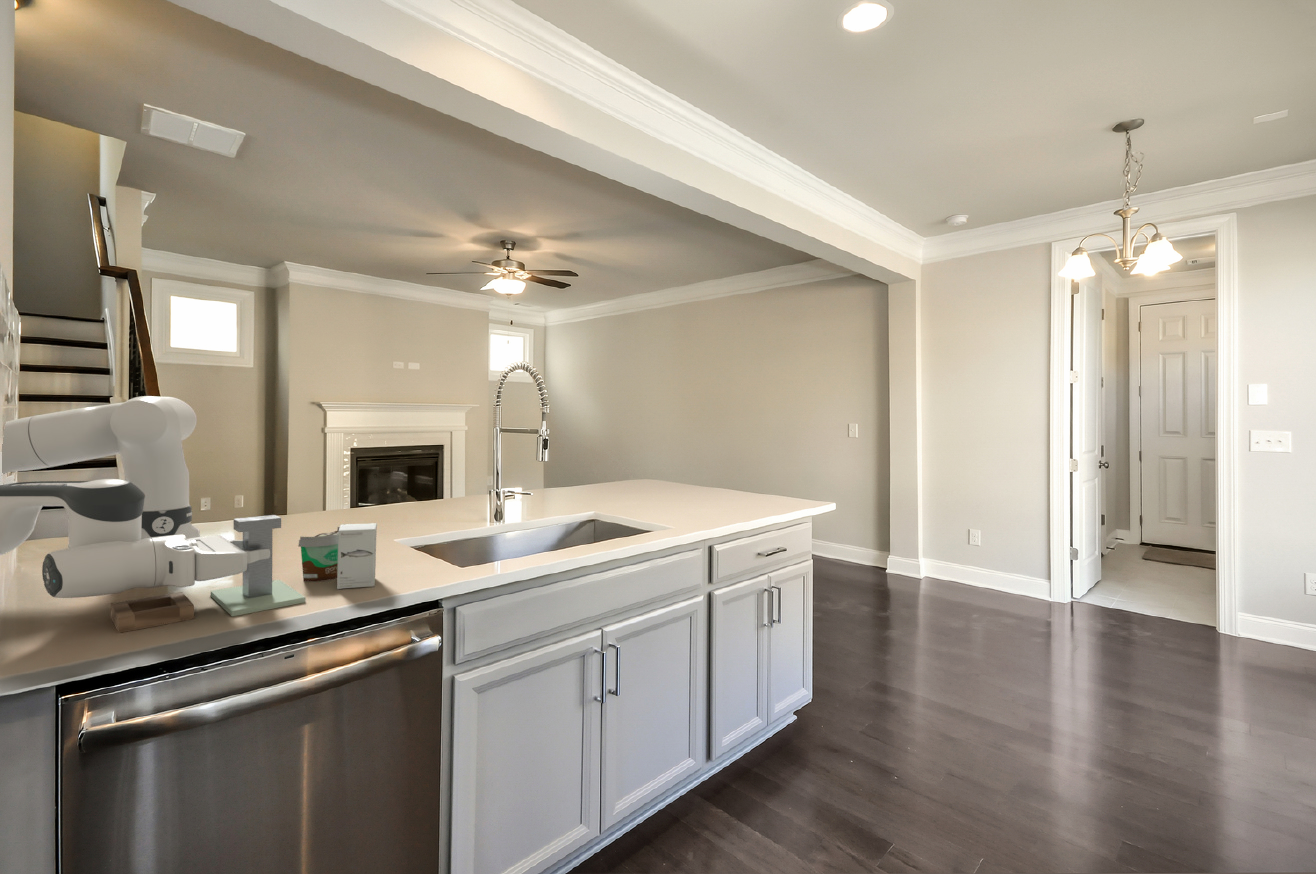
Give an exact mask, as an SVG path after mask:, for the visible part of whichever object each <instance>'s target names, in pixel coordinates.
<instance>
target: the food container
mask: <svg viewBox="0 0 1316 874" xmlns="http://www.w3.org/2000/svg"><path fill="white" fill-rule="evenodd" d="M339 528H340V526H337V529H336V530H335V531H333V532H325V533H324V532H323V533H319V534H317V535H315V536H300V539H299V540H298V545H297V546H298V547H300V553H301V554H300V555H301V565H302V566H301V567H302V568H301V569H302V580H303V582H311V583H312V582H326V581H329V580H330V581H331V580H335V579H337V572H338V532H339Z"/></svg>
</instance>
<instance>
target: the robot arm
mask: <svg viewBox="0 0 1316 874" xmlns="http://www.w3.org/2000/svg"><path fill="white" fill-rule="evenodd" d="M5 422H6V425H5V429H4V437H3V444H2V473H3V475H6V474H7V473H12V472H13V473H14V472H25V471H26V472H27V471H33V470H34V471H35V470H41V469H47V468H54V467H59V466H64V465H68V464H73V463H78V462H79V463H80V462H85V461H89V460H94V459H99V458H105V457H110V456H115V455H120V459H121V462H122V467H123V474H124V475H123V476H124V479H118V478H104V479H103V478H102V479H94V480H78V481H77V480H72V481H71V480H67V481H66V480H63V481H62V480H61V481H60V480H57V481H56V480H55V481H54V480H52V481H50V480H49V481H48V480H47V481H43V480H42V481H21V482H14V483H13V482H11V483H6V484H4V483H3V485H0V556H2V555H6V554H8V553H10V552H12V551H14V550H15V549H17V548H18V547H19V546H21V545H22V544H23V543H25V541H26V540H27V539H29V538H30V535H32V533H33V531H34V530H35V528H36V523H37V520H38V519H39V518H38V516H39V515H40V513H41V510H42V508H43V507H63V508H64V510H65V511H66V514H67V519H68V544H67V548H62V549H58V550H54V551H51V552H49V553H47V554H46V555H45V557H44V560H43V562H42V567H41V568H42V569H41V571H42V573H41V574H42V580H43V583H44V584H43V585H44V588H45V591H46V592H47V593H48V594H49V595H50V596H51V597H52V598H57V599H73V598H74V599H75V598H77V599H78V598H87V597H98V596H106V595H107V596H108V595H114V594H121V593H124V592H126V591H129V590H132V589H140V588H142V589H155V588H160V587H170V586H174V587H178V588H186V587H187V588H188V587H193V586H194V585H195V584H196V583H195V582H206V581H211V580H216V579H220V578H226V577H230V576H231V577H232V576H235V575H239V574H243V572H244V571H246V570H247V564H248V563H252V562H255V561H258V560H261V559H268V558H269V557H270V550H269V549H267V548H263V549H257V550H254V551H243V539H240V540H239V539H229V540H228V539H227V538H225V537H223V536H222V535H217V534H215V535H214V534H213V535H212V534H211V535H204V536H201V530H200V529H199V528H197V527H196V526H194V525H193V524H192V523H191V522H192V520H193V510H192V508H193V507H192V506H191V504H190V471H189V468H188V466H187V463H186V458H185V453H184V448H183V441H184V440H186V439H187V438H189V437H190V436H191V435H192V433H193V432H194V431H195V428H196V426H197V424H198V423H197V422H198V419H197V414H196V412H195V410H194V409H193V407H191V405H189V404H188V403H187V402H186V401H184V400H182V399H179V398H177V397H172V396H155V395H153V396H152V395H144V396H142V395H141V396H137V397H132V398H130V399H128V400H126V401H125V402H117V403H109V404H102V405H101V404H100V405H94V406H88V407H86V406H85V407H80V408H74V409H73V408H72V409H67V410H61V411H55V412H50V413H44V414H38V415H32V416H31V415H30V416H26V417H21V418H17V419H11V420H8V421H5Z"/></svg>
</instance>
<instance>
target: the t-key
mask: <svg viewBox="0 0 1316 874" xmlns="http://www.w3.org/2000/svg"><path fill="white" fill-rule="evenodd" d="M274 529H282V517H280V516H278V515H276V514H271V515H260V516H249V517H238V518H233V530H234V531H236V532H237V533H242V540H243V551H254V550H257V549H263V548H267V549H269V550H270V557H269V558H268V559H261V560H258V561H255V562H252V563H248V564H247V570H246V571H244V572H242V586H243V594H244V595H245V596H246V597H247V598H248V599H249V598H254V597H260V596H265V595H271V594H272V581H273V530H274Z"/></svg>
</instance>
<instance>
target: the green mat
mask: <svg viewBox="0 0 1316 874" xmlns="http://www.w3.org/2000/svg"><path fill="white" fill-rule="evenodd" d="M210 597H211V598H212V599H214V601H215V602H216V603H217V604H218V605H219V606H221V608H222V609H223V610H225V611H226V612H227V613H228V614H229V615H230V616H231V617H237V616H241V615H242V616H243V615H247V614H252V613H257V612H262V611H267V610H272V609H277V608H282V607H288V606H289V607H290V606H293V605H298V604H304V603H306V602H307V601H306V596H304V595H303V594H301V593H300V592H298V591H297V590H295V588H293V587H292V586H290V585H288V584H287V583H285V582H284V581H283V580H281V579H275V580H273V579H272V594H271V595H265V596H260V597H254V598H249V599H248V598H247V597H246V596H245V595H244V594H243V585H238V586H231V587H226V588H219V589H213V590H210Z"/></svg>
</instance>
